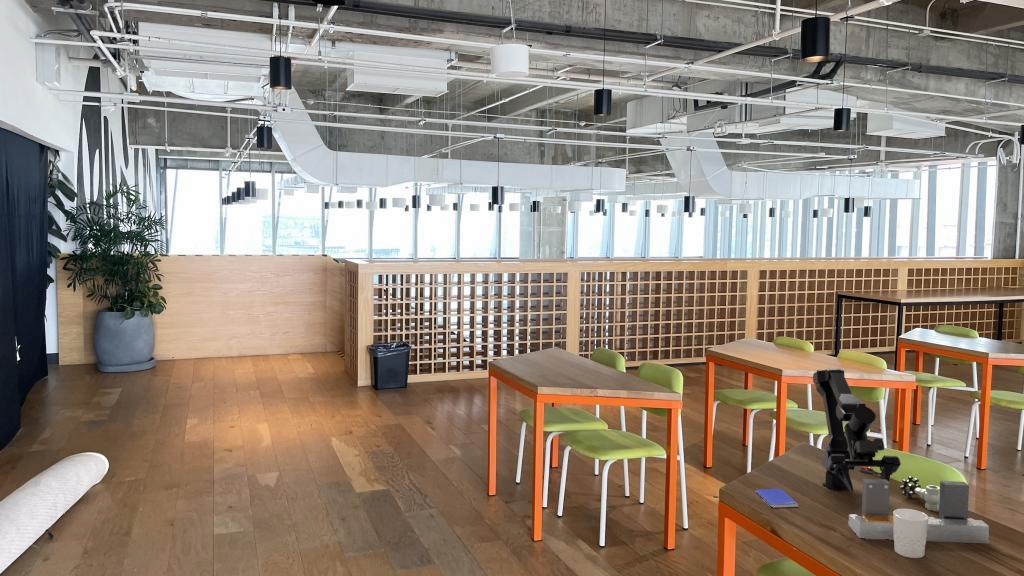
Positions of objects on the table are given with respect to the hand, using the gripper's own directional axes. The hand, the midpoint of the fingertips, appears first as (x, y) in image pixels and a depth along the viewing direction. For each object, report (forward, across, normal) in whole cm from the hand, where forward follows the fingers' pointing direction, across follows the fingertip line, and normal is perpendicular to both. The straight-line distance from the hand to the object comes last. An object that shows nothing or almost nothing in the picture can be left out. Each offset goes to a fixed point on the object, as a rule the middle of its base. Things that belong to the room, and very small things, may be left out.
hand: (869, 491), depth 213 cm
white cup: (+20, +4, -7) cm, 21 cm away
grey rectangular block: (+9, 0, +2) cm, 10 cm away
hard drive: (-4, -22, +18) cm, 28 cm away
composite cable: (-23, +15, +37) cm, 46 cm away
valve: (-4, +21, +18) cm, 28 cm away
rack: (+11, +10, +1) cm, 15 cm away
